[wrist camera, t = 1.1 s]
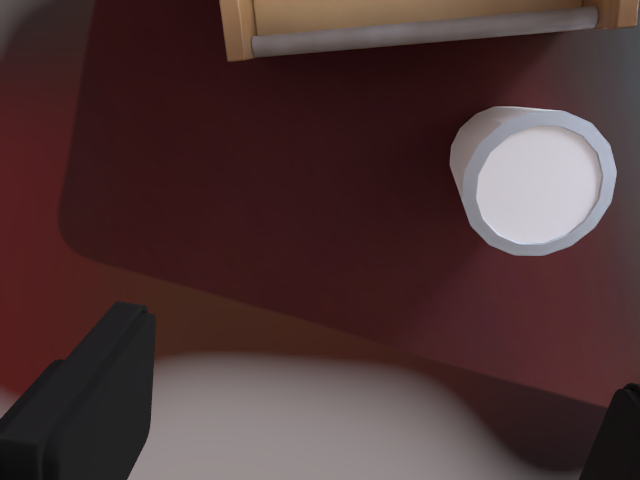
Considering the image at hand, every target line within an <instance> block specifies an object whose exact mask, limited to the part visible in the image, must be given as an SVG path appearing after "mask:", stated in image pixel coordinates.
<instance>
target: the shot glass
mask: <svg viewBox="0 0 640 480" xmlns="http://www.w3.org/2000/svg"><path fill="white" fill-rule="evenodd" d="M450 168H451V171H452V174H453V177H454V180H455V182H456V185H457V188H458V191H459V194H460V197H461V200H462V202H463V205H464V208H465V211H466V214H467V217H468V220H469V223H470V225H471V227H472V228H473V229H474V230H475V231H476V232H477V233H478V234H479V235H480V236H481V237H482V238H483V239H484V240H485V241H486V242H487V243H488V244H489V245H490V246H493V247H495V248H498V249H500V250H503V251H505V252H507V253H510V254H512V255H527V256H544V255H546V254H549V253H552V252H555V251H558V250H561V249H564V248H567V247H570V246H572V245H573V244H574V243H576V242H577V241H578V240H580V239H581V238H582V237H583V236H585V235H586V234H587V233H588V232H590V231H591V230H592V229H594V228H595V227H596V225H597V224H598V222H599V220H600V219H601V217H602V216H603V214H604V213H605V211H606V209H607V208H608V206H609V205H610V203H611V201H612V196H613V190H614V185H615V180H616V175H617V171H616V167H615V163H614V159H613V155H612V151H611V147H610V144H609V143H608V142H607V141H606V140H605V138H604V137H603V136H602V135H601V134H600V132H599V131H598V130H597V129H596V128H595V127H594V125H593V124H592V123H590V122H588V121H586V120H583V119H581V118H579V117H577V116H574V115H572V114H570V113H568V112H565V111H558V110H547V109H536V108H526V107H515V106H494V107H492V108H489V109H487V110H484V111H482V112H479V113H477V114H475V115H474V116H473V117H472V118H470V119H469V120H468V121H467V122H466V123H465V124H464V125H463V126H462V127H461V128H460V129H459V131H458V133H457V135H456V137H455V139H454V141H453V143H452V145H451V153H450Z"/></svg>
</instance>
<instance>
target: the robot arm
mask: <svg viewBox="0 0 640 480" xmlns="http://www.w3.org/2000/svg"><path fill="white" fill-rule="evenodd" d="M155 331H156V316H155V315H154V314H148V310H147V307H146V306H145V305H138V304H132V303H126V302H120V301H117V302H116V303H115V304H114V305H113V306H112V307H111V308H110V309H109V310H108V311H107V313H106V314H105V315H104V316H103V317H102V318H101V320H100V321H99V322H98V323H97V324H96V325H95V326H94V327H93V329H92V330H91V331H90V332H89V333H88V334H87V335H86V336H85V338H84V339H83V340H82V341H81V342H80V344H78V346H77V347H76V348H75V349H74V350H73V351H72V352H71V354H70V355H69V356H68V357H67V358H66V359H65V360H61V359H59V360H55V361H54V362H53V363H52V364H50V365H49V366H48V367H47V368H46V370H45V371H44V372H43V373H42V374H41V375H40V376H39V377H38V378H37V379H36V380H35V382H34V383H33V384H32V385H31V386H30V387H29V388H28V389H27V390H26V391H25V393H24V394H23V395H22V396H21V397H20V398H19V399H18V400H17V401H16V402H15V404H14V405H13V406H12V407H11V408H10V409H9V410H8V411H7V412H6V413H5V414H4V416H3V417H2V418H1V419H0V480H127V479H128V477H129V475H130V472H131V471H132V468H133V467H134V465H135V463H136V461H137V458H138V456H139V455H140V452H141V451H142V448H143V446H144V445H145V442H146V440H147V437H148V433H149V429H150V421H151V405H152V403H151V402H152V387H153V385H152V384H153V368H154V350H155V349H154V348H155ZM579 480H640V384H633V383H630V384H627V385H626V386H625V387H624V388H623V389H618V390H617V391H616V392H615V394H614V395H613V398H612V400H611V403H610V405H609V408H608V410H607V413H606V415H605V418H604V420H603V423H602V425H601V427H600V430H599V432H598V435H597V437H596V439H595V442H594V444H593V447H592V449H591V451H590V454H589V456H588V459H587V461H586V464H585V466H584V468H583V471H582V473H581V476H580V478H579Z"/></svg>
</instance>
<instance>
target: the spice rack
mask: <svg viewBox="0 0 640 480" xmlns="http://www.w3.org/2000/svg"><path fill="white" fill-rule="evenodd" d="M219 2H220V9H221V17H222V24H223V32H224V39H225V47H226V54H227V60H228V62H233V61H245V60H249V59H253V58H258V57H269V56H281V55H293V54H304V53H316V52H328V51H339V50H351V49H363V48H374V47H386V46H397V45H409V44H421V43H432V42H444V41H456V40H467V39H479V38H491V37H502V36H514V35H525V34H537V33H549V32H560V31H572V30H586V29H618V28H630V27H635V26H636V24H637V15H638V6H639V0H219Z"/></svg>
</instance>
